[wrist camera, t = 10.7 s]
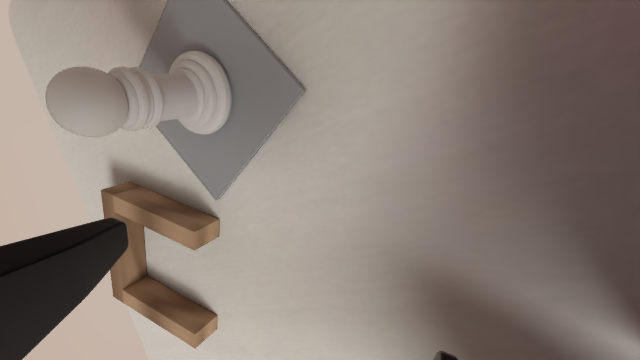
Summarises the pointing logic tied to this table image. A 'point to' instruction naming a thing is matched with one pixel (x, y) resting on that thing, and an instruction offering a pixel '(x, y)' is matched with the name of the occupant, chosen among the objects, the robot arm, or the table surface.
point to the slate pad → (245, 80)
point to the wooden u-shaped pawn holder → (131, 267)
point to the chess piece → (141, 97)
